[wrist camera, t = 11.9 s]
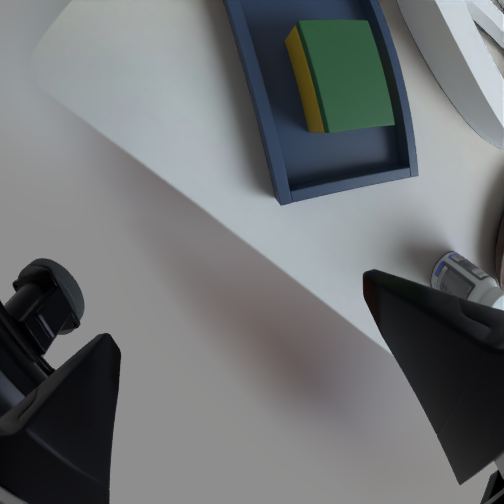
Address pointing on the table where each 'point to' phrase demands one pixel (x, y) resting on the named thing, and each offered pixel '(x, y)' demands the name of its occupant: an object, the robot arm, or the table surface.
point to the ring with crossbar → (462, 57)
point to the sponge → (339, 75)
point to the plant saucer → (500, 256)
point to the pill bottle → (466, 281)
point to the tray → (291, 109)
